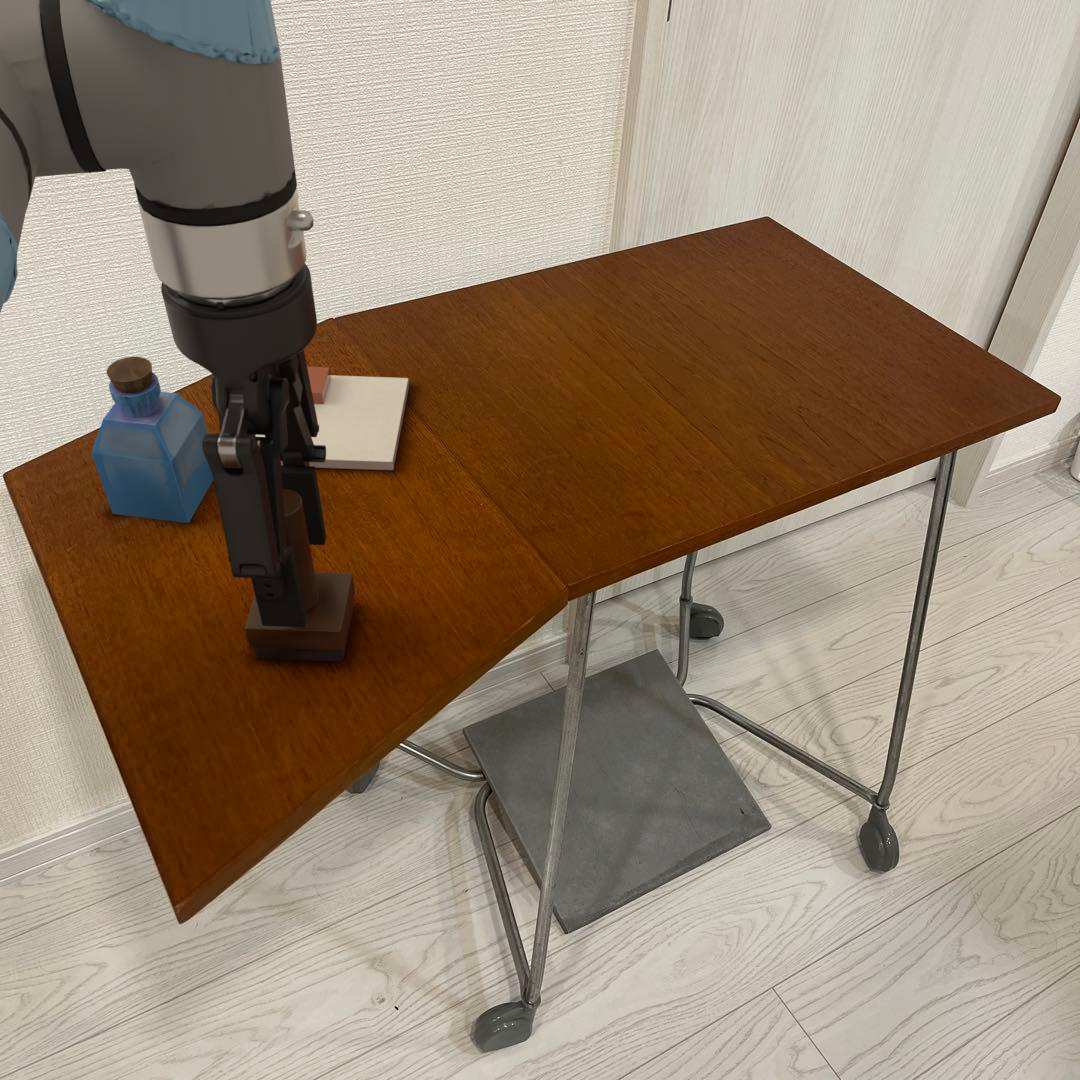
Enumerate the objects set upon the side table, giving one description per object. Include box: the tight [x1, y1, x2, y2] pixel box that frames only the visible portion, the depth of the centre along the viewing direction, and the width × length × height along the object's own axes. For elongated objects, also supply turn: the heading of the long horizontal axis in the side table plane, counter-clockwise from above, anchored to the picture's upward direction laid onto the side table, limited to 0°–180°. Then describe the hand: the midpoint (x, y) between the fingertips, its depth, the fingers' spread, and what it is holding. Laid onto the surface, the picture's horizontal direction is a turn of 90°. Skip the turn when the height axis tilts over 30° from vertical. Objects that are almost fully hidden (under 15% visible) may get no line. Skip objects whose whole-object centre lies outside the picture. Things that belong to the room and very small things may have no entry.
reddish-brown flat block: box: [307, 366, 332, 404], centre depth 90 cm, size 4×4×1 cm
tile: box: [255, 374, 410, 471], centre depth 88 cm, size 12×12×1 cm
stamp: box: [244, 489, 356, 663], centre depth 67 cm, size 6×5×12 cm
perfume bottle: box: [91, 356, 214, 524], centre depth 78 cm, size 6×6×12 cm
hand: (295, 579), depth 68 cm, fingers open, 7 cm apart
